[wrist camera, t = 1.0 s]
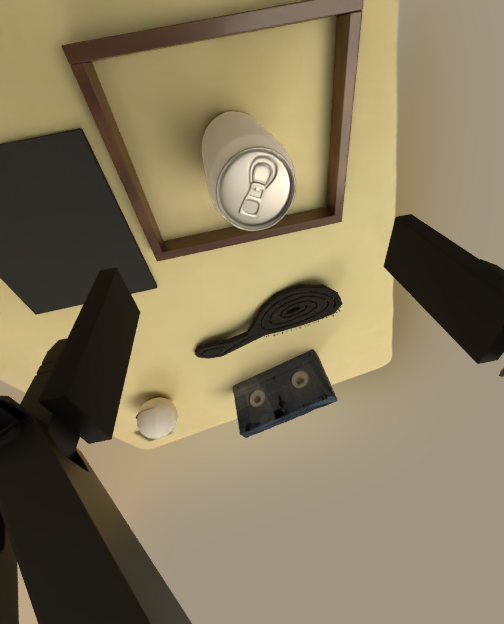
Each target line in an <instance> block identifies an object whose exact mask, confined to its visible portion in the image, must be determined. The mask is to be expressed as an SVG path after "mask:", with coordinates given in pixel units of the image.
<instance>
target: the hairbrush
mask: <svg viewBox="0 0 504 624" xmlns="http://www.w3.org/2000/svg"><path fill="white" fill-rule="evenodd" d="M333 298H334V299H333ZM326 300H327V301H326ZM315 302H316V303H315ZM305 304H306V305H305ZM341 305H342V301H341V298H340V296H339V295H338V292H336V291H334V290H332V289H330V288H328V287H326V286H324V285H312V284H299V285H297V286H294V287H291V288H289V289H286V290H284V291H281V292H278V293H276V294H275V295H273V296H272V297H271V298H270V299H269V300H268V301H267V302H266V303H265V304H264V305H263V306H262V307H261V309H260V311H259V312H258V314H257V316H256V317H255V319H254V321H253V322H252V324H251V326H250V327H249V329H248V331H247V332H244V333H242V334H239V335H237V336H234V337H232V338H230V339H226V340H221V341H215V342H210V343H207V344H204V345H201V346H198V348H197V349H196V350H195V355H196V356H197V357H200V358H215V357H221V356H224V355H226V354H228V353H230V352H232V351H234V350H236V349H238V348H240V347H242V346H244V345H246V344H248V343H250V342H252V341H254V340H256V339H258V338H260V337H262V336H264V337H265V335H268V334H272V333H276V332H277V333H278V332H280V331H284V330H288V329H291V328H294V327H295V328H296V327H298V326H301V325H305V324H308V323H310V322H313V321H316V320H319V319H323V318H324V317H326V318H327V316H329V315H331V314H334V313H335V312H336V311H337V310H338V309H339V307H340V306H341ZM292 308H293V309H292ZM340 308H341V307H340ZM290 309H291V310H290ZM339 312H340V310H339ZM336 313H337V312H336ZM333 316H334V315H333ZM260 322H261V325H260ZM318 322H319V321H318ZM309 325H310V324H309ZM309 325H308V326H309ZM305 327H306V326H305ZM299 328H301V327H299ZM291 331H292V330H291ZM282 334H283V333H282ZM277 335H278V334H277ZM273 336H275V335H273ZM266 337H267V336H266Z"/></svg>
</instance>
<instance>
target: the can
mask: <svg viewBox="0 0 504 624" xmlns="http://www.w3.org/2000/svg"><path fill="white" fill-rule="evenodd" d="M202 157H203V163H204V169H205V175H206V180H207V185H208V190H209V194H210V197H211V200H212V202H213V204H214V206H215V208H216V209H217V211H218V212H219V213H220V214H221V215H222V216H223V217H224V218H225V219H226V220H227V221H228V222H229V223H231V224H232V225H234V226H235V227H237V228H240V229H242V230H247V231H259V230H264V229H267V228H269V227H271V226H273V225H275V224H276V223H278V222H279V221H280V220H281V219H282V218H283V217H284V216H285V215H286V214H287V212H288V211H289V209H290V207H291V205H292V203H293V200H294V197H295V192H296V180H295V171H294V166H293V163H292V160H291V158H290V156H289V154H288V152H287V151H286V150H285V148H284V147H283V146H282V145H281V144H280V143H279V142H278V141H277V140H276V139H275V138H274V137H273V136H272V135H271V134H270V133H269V132H268V131H267V130H266V129H265V128H264V127H263V126H262V125H261V124H259V123H258V122H257V121H256V120H255V119H254V118H253V117H251V116H249V115H247V114H245V113H242V112H235V111H230V112H225V113H223V114H221V115H219V116H217V117H216V118H215V119H214V120H212V122H211V123H210V124H209V125H208V127H207V129H206V131H205V133H204V136H203V140H202Z"/></svg>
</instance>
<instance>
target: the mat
mask: <svg viewBox="0 0 504 624" xmlns="http://www.w3.org/2000/svg"><path fill="white" fill-rule="evenodd" d="M116 267H117V269H118V271H119V272H120V274H121V276H122V278H123V280H124V282H125V284H126V286H127V288H128V290H129V292H130V294H132V293H137V292H141V291H146V290H150V289H155V288H157V284H156V282H155V280H154V278H153V276H152V274H151V272H150V270H149V268H148V266H147V263H146V261H145V259H144V257H143V255H142V253H141V251H140V249H139V247H138V245H137V243H136V241H135V238H134V236H133V234H132V232H131V230H130V228H129V226H128V224H127V222H126V220H125V218H124V215H123V213H122V211H121V209H120V207H119V205H118V203H117V201H116V199H115V197H114V195H113V192H112V190H111V188H110V186H109V184H108V182H107V180H106V178H105V176H104V174H103V172H102V169H101V167H100V165H99V163H98V161H97V159H96V157H95V155H94V153H93V151H92V149H91V146H90V144H89V142H88V140H87V138H86V136H85V134H84V132H83V130H82V129H76V130H71V131H66V132H61V133H56V134H50V135H45V136H40V137H35V138H30V139H25V140H20V141H14V142H9V143H4V144H0V278H1V279H2V280H3V281H4V282H5V283H6V284H7V285H8V286H9V287H10V288H11V289H12V290H13V292H14V293H15V294H16V295H17V296H18V297H19V298H20V299H21V300H22V301H23V302H24V303H25V304H26V305H27V306H28V307H29V308H30V309H31V310H32V311H33V312H34V313H35V314H40V313H45V312H50V311H54V310H59V309H63V308H68V307H73V306H77V305H82V304H84V303H85V301H86V298H87V296H88V294H89V292H90V290H91V288H92V286H93V284H94V282H95V279H96V277H97V275H98V273H99V271H100V270H105V269H110V268H116Z"/></svg>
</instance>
